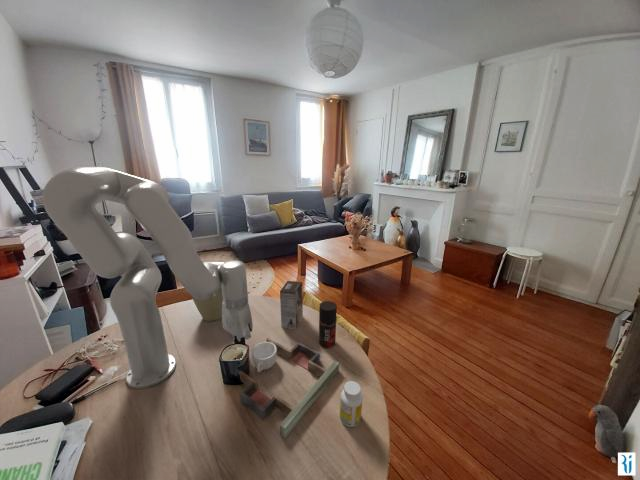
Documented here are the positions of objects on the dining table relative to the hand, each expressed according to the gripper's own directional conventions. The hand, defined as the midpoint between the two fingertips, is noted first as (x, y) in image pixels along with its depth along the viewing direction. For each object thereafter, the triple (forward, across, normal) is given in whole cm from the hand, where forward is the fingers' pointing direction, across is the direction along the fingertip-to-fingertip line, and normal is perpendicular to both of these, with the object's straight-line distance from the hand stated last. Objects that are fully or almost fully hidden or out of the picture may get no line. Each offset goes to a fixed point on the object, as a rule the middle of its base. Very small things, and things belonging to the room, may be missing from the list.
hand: (240, 347), depth 85 cm
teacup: (+2, +11, 0) cm, 11 cm away
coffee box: (+2, +3, +23) cm, 23 cm away
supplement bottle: (+2, +41, +1) cm, 41 cm away
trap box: (+2, +18, 0) cm, 18 cm away
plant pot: (+2, -26, +7) cm, 27 cm away
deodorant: (+2, +21, +21) cm, 30 cm away
